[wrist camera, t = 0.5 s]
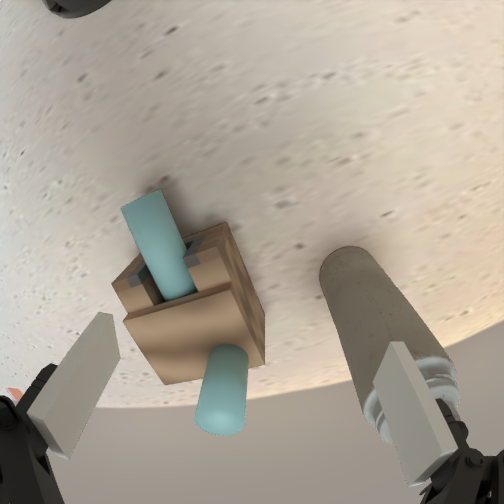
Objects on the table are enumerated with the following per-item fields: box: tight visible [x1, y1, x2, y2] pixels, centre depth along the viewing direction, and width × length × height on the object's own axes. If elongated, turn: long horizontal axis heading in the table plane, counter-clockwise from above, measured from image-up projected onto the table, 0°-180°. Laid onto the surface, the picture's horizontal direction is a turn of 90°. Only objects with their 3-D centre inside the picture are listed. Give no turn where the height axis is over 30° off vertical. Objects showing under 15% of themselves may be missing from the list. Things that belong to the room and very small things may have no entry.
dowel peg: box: [120, 189, 198, 302], centre depth 33 cm, size 13×5×5 cm, turn 20°
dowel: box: [195, 344, 249, 436], centre depth 28 cm, size 4×4×9 cm
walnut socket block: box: [112, 222, 265, 385], centre depth 36 cm, size 14×13×10 cm
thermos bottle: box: [319, 246, 468, 444], centre depth 26 cm, size 8×8×28 cm
